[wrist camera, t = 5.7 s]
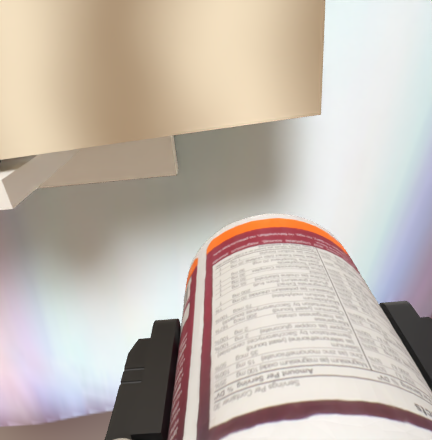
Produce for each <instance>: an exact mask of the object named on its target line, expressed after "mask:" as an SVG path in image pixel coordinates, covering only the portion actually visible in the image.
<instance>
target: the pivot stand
mask: <svg viewBox="0 0 432 440" xmlns="http://www.w3.org/2000/svg"><path fill="white" fill-rule="evenodd" d="M177 172H178V162H177V156H176V149H175V143H174V136H173V135H172V136H165V137H158V138H151V139H144V140H137V141H130V142H123V143H116V144H109V145H102V146H95V147H88V148H80V149H73V150H66V151H59V152H52V153H45V154H38V155H31V156H24V157H17V158H10V159H3V160H1V163H0V210H7V209H14V208H15V207H16V206H17V205H18V204H19V203H20V202H22V201H23V200H24V199H25V198H26V197H27V196H29V195H30V194H31V193H32V192H33V191H34V190H36V189H38V188H49V187H59V186H69V185H80V184H90V183H101V182H111V181H121V180H132V179H142V178H153V177H163V176H173V175H177Z"/></svg>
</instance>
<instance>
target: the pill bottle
mask: <svg viewBox="0 0 432 440" xmlns="http://www.w3.org/2000/svg"><path fill="white" fill-rule="evenodd" d="M167 440H432V391H431V390H430V388H429V386H428V384H427V383H426V381H425V379H424V378H423V376H422V374H421V373H420V371H419V369H418V367H417V366H416V364H415V362H414V361H413V359H412V357H411V356H410V354H409V353H408V351H407V349H406V348H405V346H404V344H403V343H402V341H401V340H400V338H399V336H398V335H397V333H396V331H395V330H394V328H393V327H392V325H391V323H390V321H389V320H388V318H387V317H386V315H385V313H384V312H383V310H382V309H381V307H380V306H379V304H378V302H377V301H376V299H375V297H374V296H373V294H372V293H371V291H370V289H369V287H368V286H367V284H366V282H365V281H364V279H363V278H362V276H361V275H360V273H359V271H358V269H357V267H356V266H355V264H354V263H353V261H352V260H351V258H350V256H349V255H348V253H347V252H346V250H345V249H344V247H343V246H342V245H341V243H340V242H339V241H338V240H337V239H336V238H335V237H334V236H333V235H332V234H331V233H330V232H329V231H327V230H326V229H325V228H323V227H321V226H320V225H318V224H317V223H314V222H312V221H310V220H307V219H305V218H301V217H298V216H294V215H289V214H262V215H256V216H251V217H247V218H244V219H241V220H238V221H236V222H233V223H231V224H229V225H227V226H225V227H224V228H222V229H221V230H219V231H218V232H216V233H215V234H214V235H213V236H211V237H210V238H209V239H208V240H207V241H206V242H205V243H204V244H203V246H202V247H201V248H200V250H199V251H198V252H197V254H196V256H195V257H194V259H193V261H192V264H191V266H190V270H189V273H188V278H187V284H186V291H185V297H184V308H183V317H182V323H181V331H180V343H179V349H178V358H177V365H176V374H175V384H174V391H173V398H172V408H171V415H170V424H169V431H168V439H167Z"/></svg>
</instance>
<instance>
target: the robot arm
mask: <svg viewBox="0 0 432 440" xmlns="http://www.w3.org/2000/svg"><path fill="white" fill-rule="evenodd" d="M379 306H380V307H381V309H382V310H383V312H384V313H385V315H386V317H387V318H388V320H389V321H390V323H391V325H392V327H393V328H394V330H395V331H396V333H397V335H398V336H399V338H400V340H401V341H402V343H403V344H404V346H405V348H406V349H407V351H408V353H409V354H410V356H411V357H412V359H413V361H414V362H415V364H416V366H417V367H418V369H419V371H420V373H421V374H422V376H423V378H424V379H425V381H426V383H427V384H428V386H429V388H430V390H431V391H432V319H431V318H429V317H422V318H420V317H419V315H418V314H417V313H416V311H415V310H414V308H413V307H412V306H411V304H410V303H409V302H407V301H398V302H386V303H380V304H379ZM180 331H181V326H180V322H179V319H168V320H156V321H155V322H154V324H153V329H152V333H151V338H146V339H138V341H137V342H136V344H135V345H134V346H133V348H132V349H131V350H130V352H129V353H128V357H127V361H126V364H125V368H124V372H123V375H122V379H121V385H120V386H119V390H118V394H117V397H116V401H115V405H114V408H113V412H112V416H111V420H110V424H109V427H108V431H107V434H106V437H105V440H167V439H168V431H169V424H170V415H171V408H172V398H173V391H174V384H175V374H176V365H177V358H178V349H179V343H180Z"/></svg>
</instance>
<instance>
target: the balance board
mask: <svg viewBox="0 0 432 440" xmlns="http://www.w3.org/2000/svg"><path fill="white" fill-rule="evenodd" d="M324 20H325V0H0V163H1V160H3V159H10V158H17V157H24V156H31V155H38V154H45V153H52V152H59V151H66V150H73V149H80V148H88V147H95V146H102V145H109V144H116V143H123V142H130V141H137V140H144V139H151V138H158V137H165V136H172V135H179V134H186V133H193V132H201V131H208V130H215V129H222V128H229V127H236V126H243V125H250V124H257V123H264V122H271V121H278V120H285V119H292V118H299V117H307V116H314V115H321V96H322V70H323V45H324Z"/></svg>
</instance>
